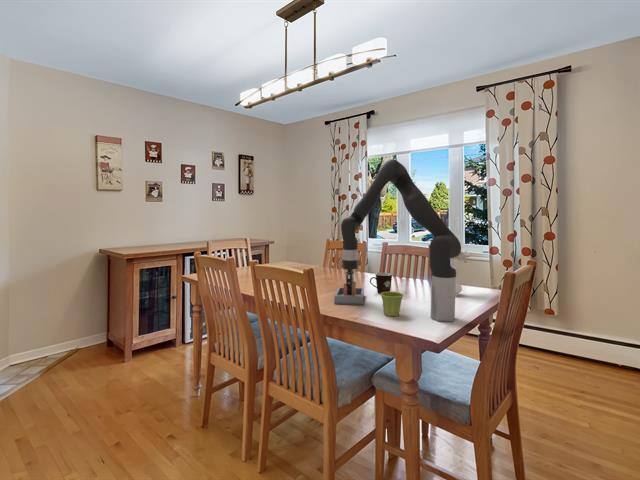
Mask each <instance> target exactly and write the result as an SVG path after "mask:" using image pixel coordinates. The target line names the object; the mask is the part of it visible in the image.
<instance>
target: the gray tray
mask: <svg viewBox="0 0 640 480" xmlns="http://www.w3.org/2000/svg"><path fill="white" fill-rule="evenodd" d="M333 298H334V299H333V302H334V304H335V305H350V306H351V305H352V306H353V305H355V306H357V305H358V306H363V304H364V298H365V288H364V287H356V295H355V296H344V286H342V287H340V286H339V287H337V290H336V292H335V293H334V296H333Z"/></svg>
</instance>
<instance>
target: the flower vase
mask: <svg viewBox="0 0 640 480" xmlns="http://www.w3.org/2000/svg"><path fill="white" fill-rule="evenodd" d="M467 251H468V250H467V248H464V249H463V251H462V250H461V252H460V254H459V255H458V256H457V257H454V258H450V264H451V267H452V268H454V269H455V270H456V271H457V262H459V263H461V262H464V263H465V264H467V263H468V259H467V258H470V257H471V256H472V255H471V253H467ZM462 291H463V287H462V285H461V284H460V283H459V281H458V280H457V278H456V294H455V297H458V296H459V294H460V293H461V292H462Z"/></svg>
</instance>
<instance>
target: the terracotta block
mask: <svg viewBox="0 0 640 480" xmlns="http://www.w3.org/2000/svg"><path fill="white" fill-rule="evenodd" d="M348 284H351V282H348ZM343 287H344V296H355V295H356V288H357V281H355V280H353V283H352V295H347V286H346V280H344V282H343Z"/></svg>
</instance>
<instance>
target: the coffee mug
mask: <svg viewBox="0 0 640 480" xmlns="http://www.w3.org/2000/svg"><path fill="white" fill-rule="evenodd" d="M373 279H375V283H376V285H374V284H373V283H372V280H373ZM392 279H393V274H392V273H390V272H376V273H375V276H373V277H371V278H370V279H369V283H370V285H372V287H375V288H376V291H377V292H376V293H377V294H379V295H380V293H382V292H391V288H392V287H391V285H392Z"/></svg>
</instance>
